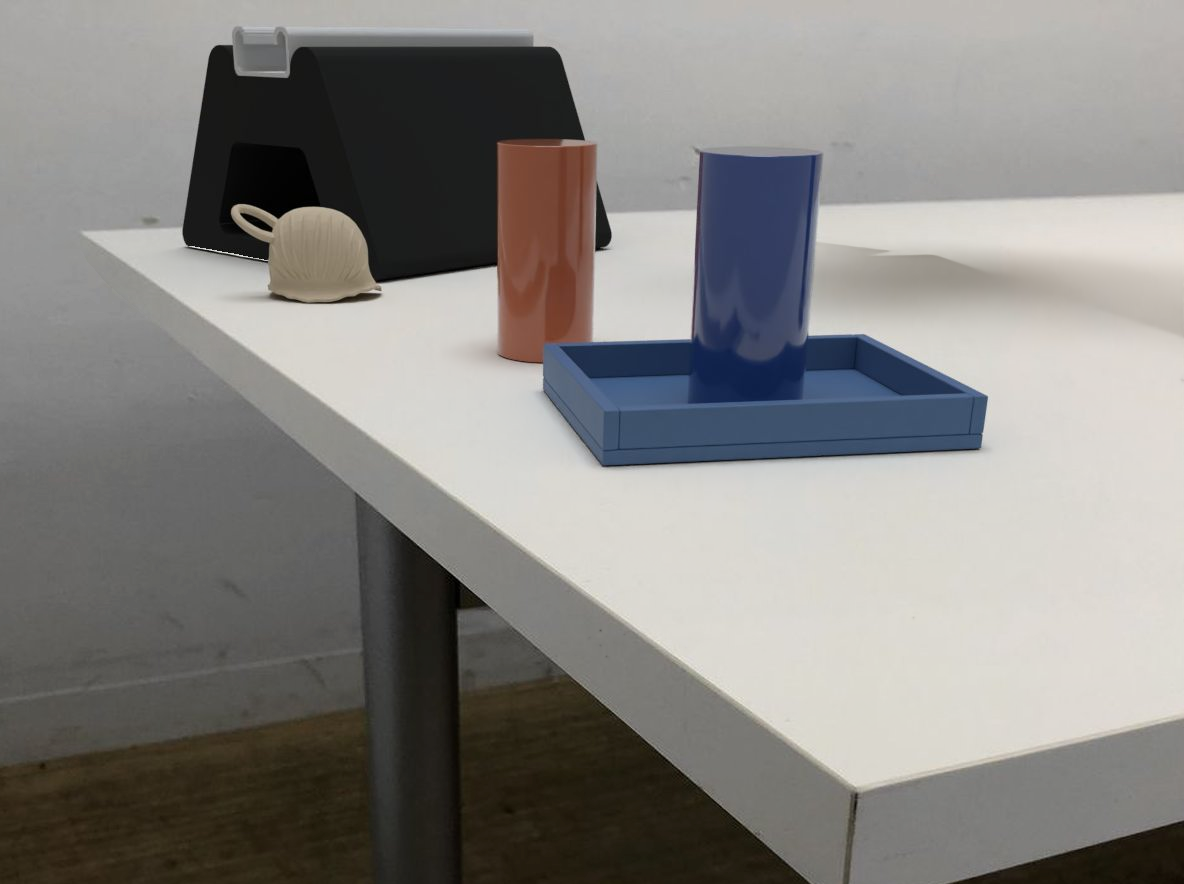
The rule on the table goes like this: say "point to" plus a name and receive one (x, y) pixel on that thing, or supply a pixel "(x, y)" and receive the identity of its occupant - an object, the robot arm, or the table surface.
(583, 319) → the cylinder
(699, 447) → the blue tray
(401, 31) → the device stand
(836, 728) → the table surface
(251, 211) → the decorative ornament
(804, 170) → the blue tall cylinder
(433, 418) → the table surface
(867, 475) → the table surface
